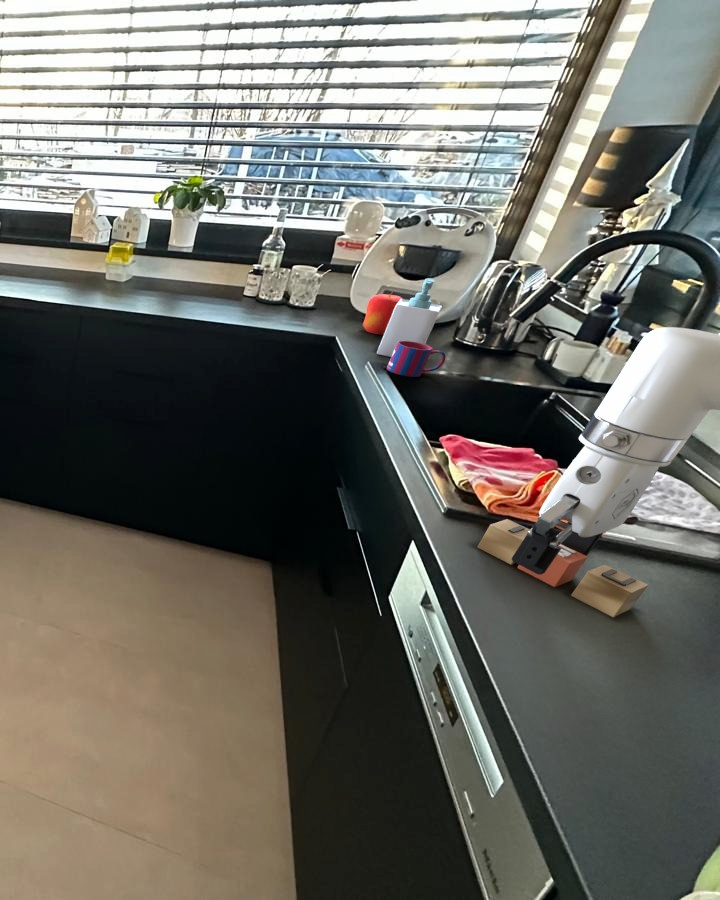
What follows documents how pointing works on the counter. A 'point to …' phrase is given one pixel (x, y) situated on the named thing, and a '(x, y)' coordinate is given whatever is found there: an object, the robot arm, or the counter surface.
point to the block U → (609, 590)
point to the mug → (412, 359)
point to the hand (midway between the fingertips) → (547, 559)
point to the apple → (380, 312)
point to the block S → (560, 567)
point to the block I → (503, 539)
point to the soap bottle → (410, 320)
